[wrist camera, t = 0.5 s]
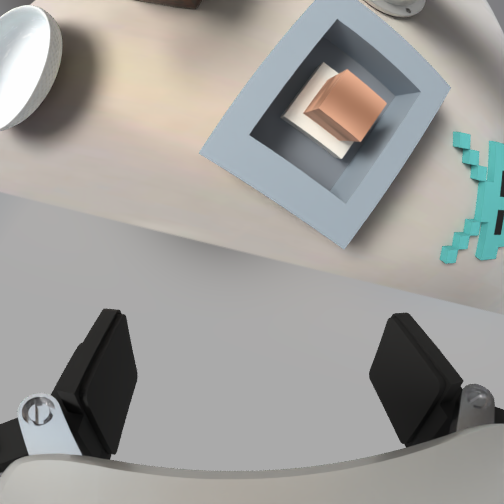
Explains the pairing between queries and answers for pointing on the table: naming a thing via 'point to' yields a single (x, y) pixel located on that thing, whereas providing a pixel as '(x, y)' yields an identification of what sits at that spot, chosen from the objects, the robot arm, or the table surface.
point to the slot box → (317, 138)
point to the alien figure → (482, 203)
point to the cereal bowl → (26, 61)
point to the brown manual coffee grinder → (176, 3)
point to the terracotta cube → (345, 107)
